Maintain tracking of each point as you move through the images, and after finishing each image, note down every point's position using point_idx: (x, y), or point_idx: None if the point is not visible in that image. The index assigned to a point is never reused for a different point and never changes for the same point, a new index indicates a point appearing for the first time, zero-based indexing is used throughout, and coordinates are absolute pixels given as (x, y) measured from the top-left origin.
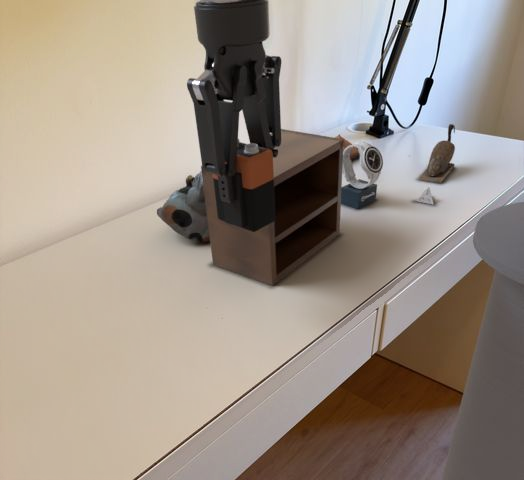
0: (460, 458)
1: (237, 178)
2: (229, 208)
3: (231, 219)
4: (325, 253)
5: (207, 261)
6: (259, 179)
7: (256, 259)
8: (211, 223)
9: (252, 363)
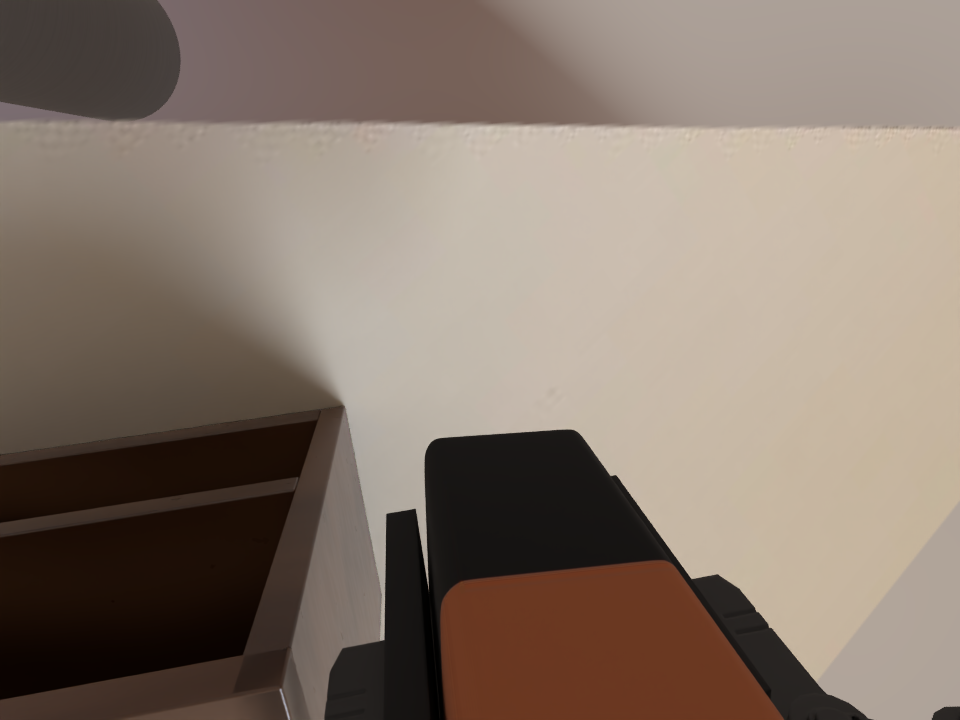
0: (80, 52)
1: (755, 671)
2: None
3: None
4: (62, 416)
5: None
6: (616, 597)
7: (349, 492)
8: None
9: (651, 193)
